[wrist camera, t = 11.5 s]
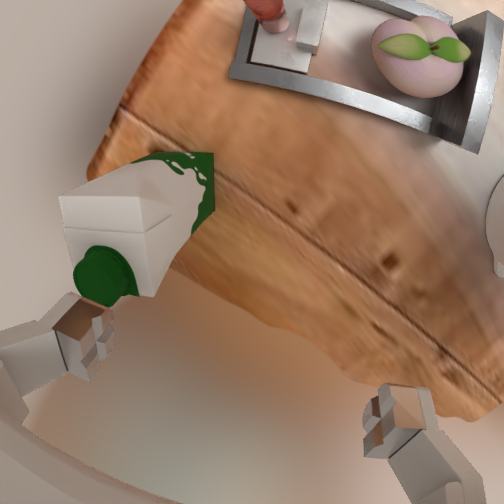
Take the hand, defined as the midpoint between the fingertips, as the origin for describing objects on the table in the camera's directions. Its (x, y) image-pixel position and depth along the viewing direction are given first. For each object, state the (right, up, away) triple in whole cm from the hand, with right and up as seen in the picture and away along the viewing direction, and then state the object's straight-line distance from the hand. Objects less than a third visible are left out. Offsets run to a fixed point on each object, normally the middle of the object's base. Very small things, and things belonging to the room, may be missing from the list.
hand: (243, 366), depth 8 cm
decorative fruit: (+17, +23, +18) cm, 34 cm away
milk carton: (-8, +12, +29) cm, 32 cm away
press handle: (+4, +27, +18) cm, 33 cm away
